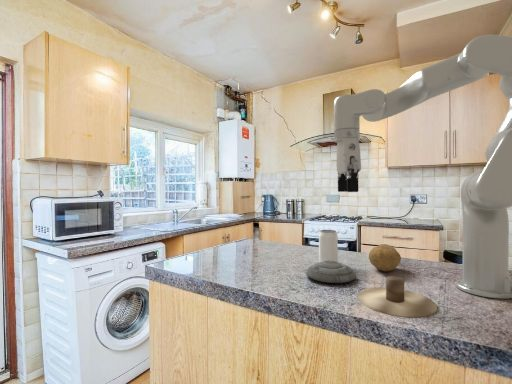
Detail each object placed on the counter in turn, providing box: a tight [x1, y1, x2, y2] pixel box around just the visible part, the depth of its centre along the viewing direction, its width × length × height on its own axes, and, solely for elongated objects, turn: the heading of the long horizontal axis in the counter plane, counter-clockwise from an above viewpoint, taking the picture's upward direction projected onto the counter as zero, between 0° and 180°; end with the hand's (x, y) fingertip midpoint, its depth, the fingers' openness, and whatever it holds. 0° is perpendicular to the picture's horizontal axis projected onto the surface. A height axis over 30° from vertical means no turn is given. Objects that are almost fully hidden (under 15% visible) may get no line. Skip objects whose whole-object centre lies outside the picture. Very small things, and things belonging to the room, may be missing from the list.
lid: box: [357, 275, 438, 318], centre depth 70 cm, size 17×17×6 cm
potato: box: [368, 243, 402, 272], centre depth 96 cm, size 10×14×8 cm
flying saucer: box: [305, 260, 357, 284], centre depth 88 cm, size 15×15×6 cm
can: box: [318, 229, 339, 263], centre depth 104 cm, size 6×6×12 cm
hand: (347, 191), depth 90 cm, fingers open, 9 cm apart
